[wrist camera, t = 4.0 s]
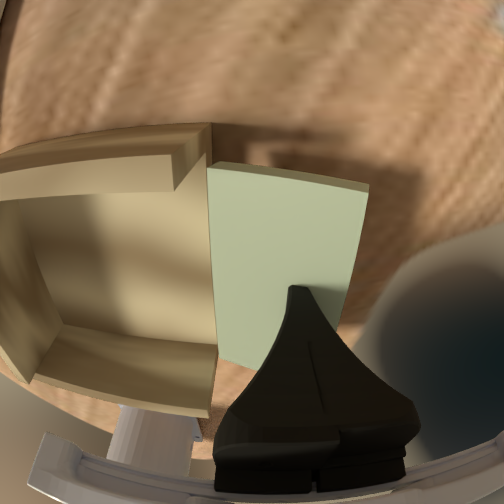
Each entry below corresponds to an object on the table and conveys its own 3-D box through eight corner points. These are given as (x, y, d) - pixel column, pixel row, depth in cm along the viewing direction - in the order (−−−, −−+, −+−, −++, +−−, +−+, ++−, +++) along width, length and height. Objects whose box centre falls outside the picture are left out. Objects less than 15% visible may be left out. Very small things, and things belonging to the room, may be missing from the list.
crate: (221, 337, 19) (206, 434, 13) (67, 318, 19) (26, 389, 13) (211, 122, 12) (158, 165, 6) (14, 147, 12) (-74, 197, 6)
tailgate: (231, 338, 17) (324, 365, 15) (219, 357, 16) (317, 388, 14) (226, 157, 12) (369, 179, 10) (206, 167, 10) (368, 193, 9)
